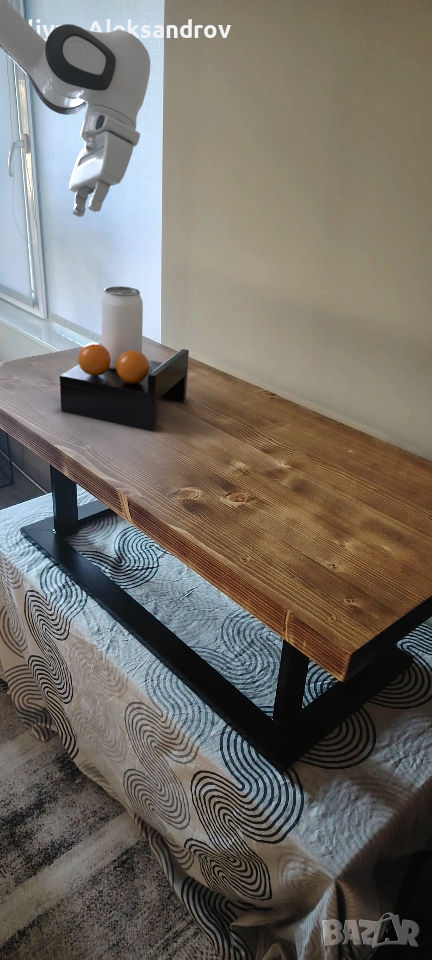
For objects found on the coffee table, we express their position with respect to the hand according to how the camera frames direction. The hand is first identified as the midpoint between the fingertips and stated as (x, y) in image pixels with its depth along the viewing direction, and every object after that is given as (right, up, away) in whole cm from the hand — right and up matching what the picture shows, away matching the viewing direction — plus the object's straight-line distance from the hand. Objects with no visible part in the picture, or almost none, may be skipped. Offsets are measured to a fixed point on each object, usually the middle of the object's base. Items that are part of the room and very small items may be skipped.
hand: (85, 213), depth 113 cm
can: (+8, -29, -10) cm, 32 cm away
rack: (+9, -36, -9) cm, 38 cm away
